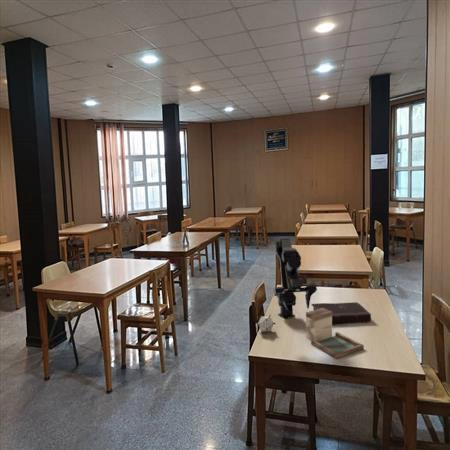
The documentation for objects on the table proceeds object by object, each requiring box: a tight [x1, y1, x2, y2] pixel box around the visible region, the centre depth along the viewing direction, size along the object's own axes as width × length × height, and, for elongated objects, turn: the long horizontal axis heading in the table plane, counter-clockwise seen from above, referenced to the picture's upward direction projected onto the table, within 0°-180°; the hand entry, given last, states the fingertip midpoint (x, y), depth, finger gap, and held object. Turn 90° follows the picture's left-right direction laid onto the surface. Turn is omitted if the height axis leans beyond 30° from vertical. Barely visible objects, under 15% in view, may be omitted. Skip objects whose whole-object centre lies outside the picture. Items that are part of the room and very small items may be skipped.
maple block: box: [305, 308, 333, 342], centre depth 168 cm, size 6×10×12 cm, turn 118°
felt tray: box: [310, 331, 365, 360], centre depth 159 cm, size 15×15×2 cm
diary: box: [310, 301, 372, 325], centre depth 191 cm, size 19×25×5 cm
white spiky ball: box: [257, 314, 276, 334], centre depth 176 cm, size 9×8×10 cm
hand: (297, 309), depth 164 cm, fingers open, 9 cm apart
